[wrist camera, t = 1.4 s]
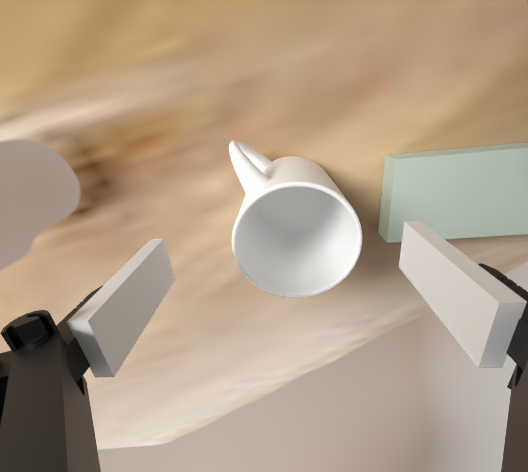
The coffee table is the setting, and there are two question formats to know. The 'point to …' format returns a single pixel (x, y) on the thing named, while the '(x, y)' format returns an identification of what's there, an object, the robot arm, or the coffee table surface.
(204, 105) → the coffee table surface
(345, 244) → the mug
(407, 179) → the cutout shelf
